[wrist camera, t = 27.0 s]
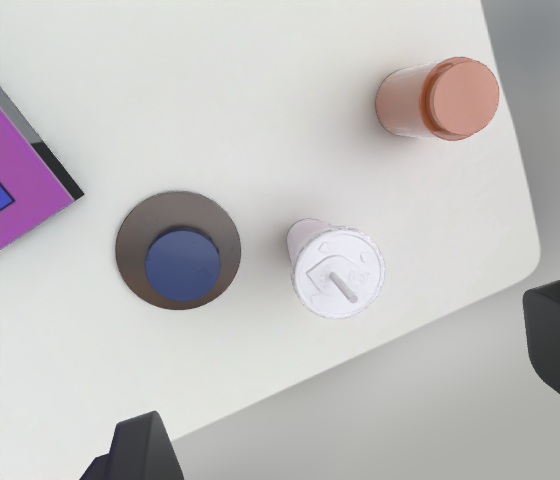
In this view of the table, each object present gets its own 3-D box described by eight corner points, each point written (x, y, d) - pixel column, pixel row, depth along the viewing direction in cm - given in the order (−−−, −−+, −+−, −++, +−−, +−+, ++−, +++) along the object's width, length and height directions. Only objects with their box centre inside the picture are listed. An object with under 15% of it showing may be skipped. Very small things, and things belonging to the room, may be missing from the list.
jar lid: (131, 268, 38) (129, 274, 37) (175, 211, 38) (175, 215, 36) (190, 308, 40) (190, 314, 39) (234, 254, 39) (235, 259, 38)
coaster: (253, 287, 41) (254, 289, 40) (140, 322, 40) (139, 325, 40) (221, 176, 38) (221, 177, 38) (98, 210, 37) (96, 212, 37)
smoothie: (276, 198, 39) (318, 241, 26) (349, 207, 41) (425, 252, 27) (266, 271, 41) (300, 347, 28) (336, 278, 42) (402, 353, 29)
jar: (443, 122, 40) (512, 124, 31) (385, 145, 40) (439, 154, 31) (427, 58, 39) (495, 41, 30) (367, 82, 38) (418, 72, 30)
